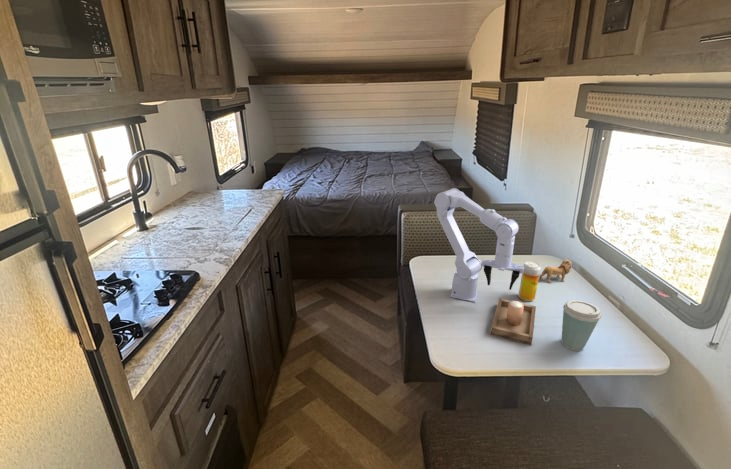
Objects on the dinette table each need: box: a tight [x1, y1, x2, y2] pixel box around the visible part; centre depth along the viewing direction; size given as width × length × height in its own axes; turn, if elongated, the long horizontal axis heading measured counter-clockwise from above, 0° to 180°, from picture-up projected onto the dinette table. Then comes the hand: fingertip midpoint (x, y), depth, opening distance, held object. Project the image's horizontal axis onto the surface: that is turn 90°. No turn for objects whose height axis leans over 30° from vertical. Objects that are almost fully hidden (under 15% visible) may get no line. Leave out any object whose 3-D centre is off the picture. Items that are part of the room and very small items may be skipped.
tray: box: [490, 298, 537, 346], centre depth 133 cm, size 13×20×3 cm, turn 155°
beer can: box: [518, 260, 541, 302], centre depth 146 cm, size 6×6×15 cm
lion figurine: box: [538, 259, 573, 284], centre depth 160 cm, size 15×5×9 cm, turn 106°
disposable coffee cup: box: [561, 299, 602, 352], centre depth 120 cm, size 11×11×15 cm
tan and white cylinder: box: [506, 300, 524, 326], centre depth 132 cm, size 5×5×7 cm
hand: (499, 286), depth 140 cm, fingers open, 7 cm apart
